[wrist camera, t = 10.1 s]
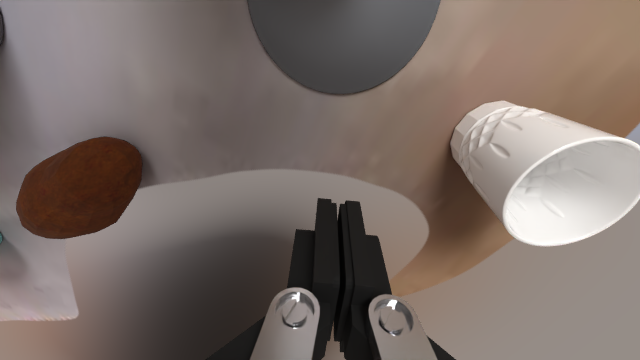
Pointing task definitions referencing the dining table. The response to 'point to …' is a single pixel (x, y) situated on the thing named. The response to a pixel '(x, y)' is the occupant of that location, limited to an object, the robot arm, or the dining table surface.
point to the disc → (342, 39)
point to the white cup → (546, 172)
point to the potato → (80, 188)
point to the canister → (1, 29)
